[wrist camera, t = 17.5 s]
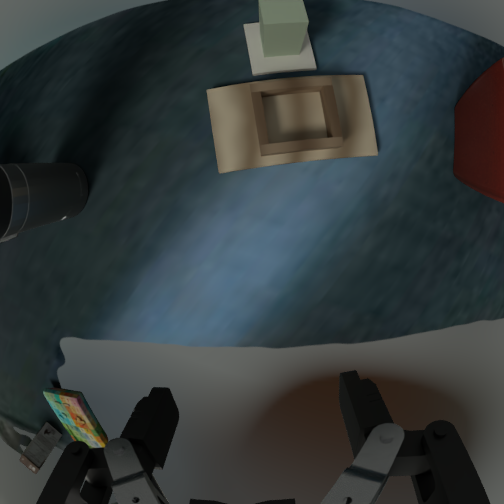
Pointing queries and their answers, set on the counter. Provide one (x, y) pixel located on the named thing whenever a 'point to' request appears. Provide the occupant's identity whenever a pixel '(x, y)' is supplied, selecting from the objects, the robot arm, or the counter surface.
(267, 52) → the sage block
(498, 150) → the plant pot
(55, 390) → the puzzle game
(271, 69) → the white tile
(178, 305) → the counter surface
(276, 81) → the puzzle board
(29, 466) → the coffee box
